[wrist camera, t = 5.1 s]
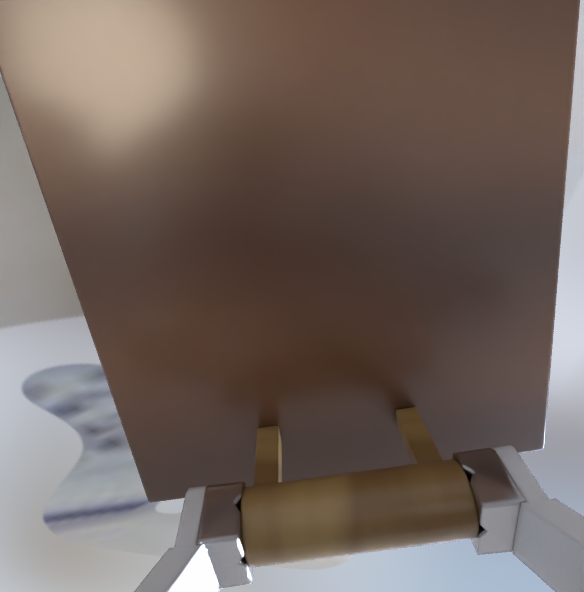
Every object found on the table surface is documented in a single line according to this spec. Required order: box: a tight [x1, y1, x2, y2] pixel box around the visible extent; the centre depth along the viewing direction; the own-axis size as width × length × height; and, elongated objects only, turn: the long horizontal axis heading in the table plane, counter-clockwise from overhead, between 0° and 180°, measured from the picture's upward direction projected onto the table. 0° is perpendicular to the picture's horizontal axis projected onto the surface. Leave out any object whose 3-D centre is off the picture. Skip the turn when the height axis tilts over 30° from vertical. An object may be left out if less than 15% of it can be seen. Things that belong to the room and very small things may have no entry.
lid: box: [0, 0, 580, 567], centre depth 10 cm, size 17×14×5 cm
